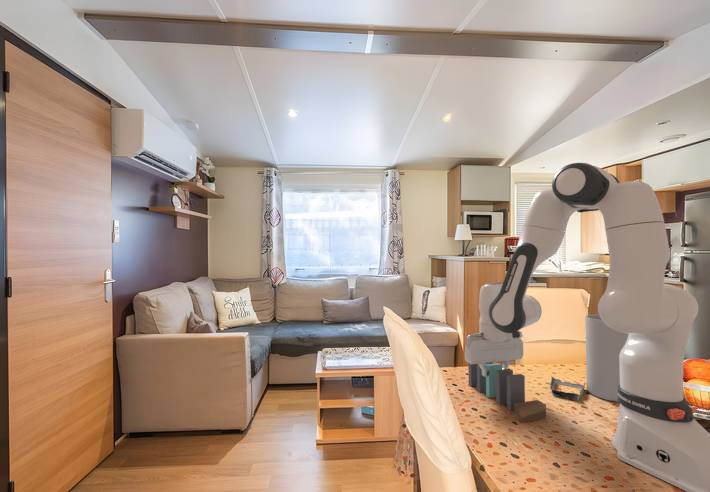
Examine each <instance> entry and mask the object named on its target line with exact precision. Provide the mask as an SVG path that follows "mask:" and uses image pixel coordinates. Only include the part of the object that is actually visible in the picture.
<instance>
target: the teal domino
mask: <svg viewBox="0 0 710 492" xmlns="http://www.w3.org/2000/svg"><path fill="white" fill-rule="evenodd" d="M501 369H502V364H501V363H498V362H496V363H492V364H488V365H486V370H488V371H489V376H486V391H485V396H486V397H487V398H489V399H490V398H496V370H501Z"/></svg>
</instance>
